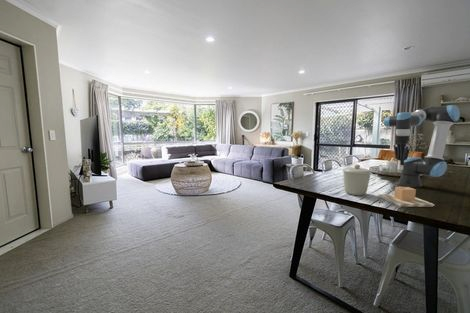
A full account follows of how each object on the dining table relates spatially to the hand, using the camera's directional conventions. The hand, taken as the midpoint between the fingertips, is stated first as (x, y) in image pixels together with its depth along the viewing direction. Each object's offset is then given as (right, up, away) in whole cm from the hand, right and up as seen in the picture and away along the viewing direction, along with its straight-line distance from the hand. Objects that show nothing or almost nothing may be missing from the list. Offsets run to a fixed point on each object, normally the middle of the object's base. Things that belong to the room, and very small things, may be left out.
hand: (400, 169), depth 153 cm
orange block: (-7, -18, -13) cm, 24 cm away
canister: (-29, -18, +4) cm, 34 cm away
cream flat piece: (-7, -20, -13) cm, 25 cm away
